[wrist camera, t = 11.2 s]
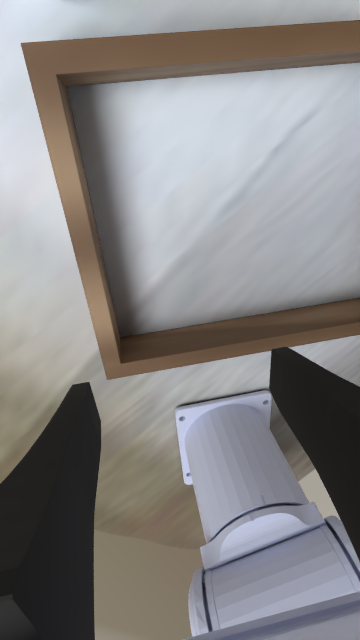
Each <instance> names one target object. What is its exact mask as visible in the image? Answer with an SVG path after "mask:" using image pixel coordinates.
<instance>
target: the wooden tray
mask: <svg viewBox="0 0 360 640" xmlns="http://www.w3.org/2000/svg"><path fill="white" fill-rule="evenodd" d="M21 46H22V50H23V54H24V58H25V62H26V66H27V70H28V74H29V78H30V81H31V85H32V89H33V93H34V97H35V101H36V105H37V109H38V113H39V116H40V120H41V124H42V128H43V132H44V136H45V140H46V144H47V148H48V151H49V155H50V159H51V163H52V167H53V171H54V175H55V179H56V183H57V186H58V190H59V194H60V198H61V202H62V206H63V210H64V214H65V218H66V222H67V225H68V229H69V233H70V237H71V241H72V245H73V249H74V253H75V257H76V260H77V264H78V268H79V272H80V276H81V280H82V284H83V288H84V292H85V295H86V299H87V303H88V307H89V311H90V315H91V319H92V323H93V327H94V330H95V334H96V338H97V342H98V346H99V350H100V354H101V358H102V362H103V365H104V369H105V373H106V377H107V380H109V379H115V378H120V377H126V376H132V375H137V374H143V373H148V372H154V371H159V370H165V369H171V368H176V367H182V366H187V365H193V364H199V363H204V362H210V361H215V360H221V359H226V358H232V357H238V356H243V355H249V354H254V353H260V352H265V351H271V350H272V349H276V348H281V347H293V346H299V345H305V344H310V343H316V342H321V341H327V340H332V339H338V338H344V337H349V336H355V335H360V298H358V299H352V300H346V301H340V302H334V303H328V304H322V305H316V306H310V307H304V308H297V309H291V310H285V311H279V312H273V313H267V314H261V315H255V316H249V317H243V318H237V319H231V320H225V321H219V322H213V323H207V324H201V325H195V326H189V327H183V328H177V329H171V330H165V331H159V332H153V333H147V334H141V335H135V336H129V337H123V338H120V335H119V330H118V326H117V321H116V316H115V312H114V307H113V302H112V298H111V293H110V288H109V284H108V279H107V274H106V270H105V265H104V260H103V256H102V251H101V246H100V242H99V237H98V232H97V228H96V223H95V218H94V214H93V209H92V204H91V200H90V195H89V190H88V186H87V181H86V176H85V172H84V167H83V162H82V158H81V153H80V148H79V144H78V139H77V134H76V129H75V125H74V120H73V115H72V111H71V106H70V101H69V97H68V92H67V87H68V86H80V85H92V84H104V83H116V82H128V81H140V80H152V79H165V78H177V77H189V76H201V75H213V74H225V73H237V72H250V71H262V70H274V69H286V68H298V67H310V66H322V65H334V64H347V63H359V62H360V20H354V21H340V22H325V23H310V24H295V25H280V26H265V27H251V28H236V29H221V30H206V31H191V32H176V33H162V34H147V35H132V36H117V37H102V38H87V39H73V40H58V41H43V42H28V43H21Z"/></svg>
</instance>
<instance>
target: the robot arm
mask: <svg viewBox="0 0 360 640" xmlns="http://www.w3.org/2000/svg"><path fill="white" fill-rule="evenodd" d="M269 389H270V391H271V393H270V392H269V391H268V390H264V391H259V392H254V393H249V394H243V395H238V396H233V397H228V398H223V399H217V400H212V401H207V402H202V403H197V404H191V405H186V406H181V407H178V408H177V409H176V410H175V418H176V425H177V433H178V440H179V448H180V455H181V463H182V470H183V478H184V483H185V484H187V485H190V484H193V486H194V490H195V495H196V499H197V504H198V508H199V512H200V517H201V521H202V526H203V530H204V535H205V539H206V543H207V544H206V545H204V546H202V547H201V548H200V551H201V556H202V560H203V565H204V567H201V568H199V569H197V570H196V571H195V572H194V575H193V579H192V583H191V586H190V589H189V597H188V601H189V602H188V604H189V617H190V625H191V631H192V637H189V638H186V639H182V640H360V387H359V386H357V385H355V384H353V383H351V382H349V381H347V380H345V379H343V378H341V377H339V376H337V375H335V374H333V373H332V372H330V371H328V370H326V369H324V368H323V367H321V366H319V365H317V364H316V363H314V362H312V361H311V360H309V359H307V358H305V357H304V356H302V355H300V354H299V353H297V352H295V351H293V350H292V349H290V348H288V347H281V348H276V349H272V352H271V369H270V385H269ZM271 394H272V395H271ZM272 396H273V398H274V400H275V402H276V404H277V407H278V409H279V411H280V412H281V414H282V416H283V417H284V419H285V420H286V422H287V424H288V425H289V427H290V428H291V430H292V431H293V433H294V435H295V436H296V438H297V439H298V441H299V442H300V444H301V445H302V447H303V449H304V450H305V452H306V453H307V455H308V456H309V458H310V460H311V461H312V463H313V465H314V467H315V468H316V470H317V472H318V474H319V476H320V478H321V480H322V482H323V484H324V486H325V488H326V490H327V492H328V494H329V496H330V498H331V500H332V502H333V504H334V506H335V508H336V510H337V513H338V515H339V517H340V519H341V520H339V519H338V518H337V517H336V516H329V517H326V518H325V519H323V517H322V515H321V514H320V512H319V510H318V508H317V506H316V505H315V503H314V502H311V503H309V501H308V499H307V498H306V496H305V494H304V492H303V490H302V488H301V487H300V485H299V483H298V481H297V479H296V477H295V475H294V473H293V472H292V470H291V468H290V466H289V464H288V462H287V460H286V459H285V457H284V455H283V453H282V451H281V449H280V447H279V446H278V444H277V442H276V440H275V438H274V436H273V434H272V433H271V431H270V416H271V401H272ZM265 400H266V401H265ZM180 417H182V418H180ZM100 452H101V420H100V417H99V413H98V410H97V407H96V403H95V400H94V396H93V393H92V390H91V386H90V383H89V382H86V383H80V384H75V385H72V386H71V388H70V389H69V391H68V393H67V394H66V396H65V398H64V399H63V401H62V403H61V404H60V406H59V408H58V409H57V411H56V413H55V414H54V416H53V417H52V419H51V420H50V422H49V423H48V425H47V426H46V428H45V429H44V431H43V432H42V433H41V435H40V436H39V438H38V439H37V440H36V442H35V443H34V444H33V446H32V447H31V449H30V450H29V451H28V452H27V454H26V455H25V456H24V457H23V459H22V460H21V461H20V462H19V464H18V465H17V466H16V467H15V468H14V469H13V471H12V472H11V473H10V474H9V475H8V476H7V478H6V479H5V480H4V481H3V482H2V483H1V484H0V640H95V633H94V581H93V580H94V574H93V573H94V569H93V568H94V567H93V563H94V551H93V550H94V549H93V547H94V546H93V545H94V541H93V540H94V510H95V499H96V490H97V480H98V471H99V462H100ZM324 520H325V521H324Z"/></svg>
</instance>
